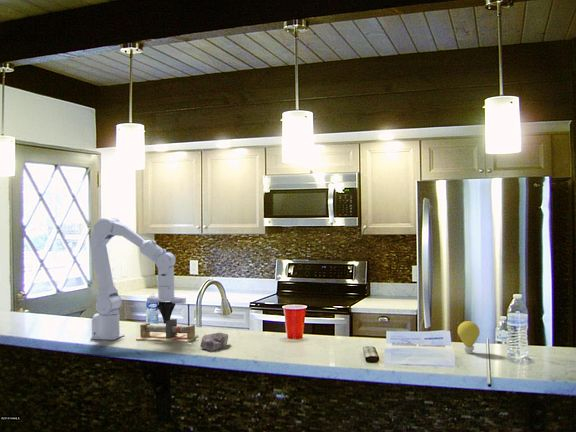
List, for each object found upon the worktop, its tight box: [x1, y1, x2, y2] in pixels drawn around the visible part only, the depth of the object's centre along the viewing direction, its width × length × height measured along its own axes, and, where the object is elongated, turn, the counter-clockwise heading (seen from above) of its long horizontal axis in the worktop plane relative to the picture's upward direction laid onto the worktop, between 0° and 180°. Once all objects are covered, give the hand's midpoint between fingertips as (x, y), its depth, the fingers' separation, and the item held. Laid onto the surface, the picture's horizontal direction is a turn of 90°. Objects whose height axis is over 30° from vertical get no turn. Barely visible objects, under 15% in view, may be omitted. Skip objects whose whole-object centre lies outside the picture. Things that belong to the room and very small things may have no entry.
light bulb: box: [457, 320, 480, 355], centre depth 183 cm, size 7×7×10 cm
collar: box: [165, 318, 178, 338], centre depth 210 cm, size 2×5×6 cm, turn 165°
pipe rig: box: [135, 322, 199, 344], centre depth 211 cm, size 20×10×5 cm, turn 75°
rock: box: [199, 332, 229, 352], centre depth 196 cm, size 8×11×5 cm
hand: (166, 323), depth 211 cm, fingers closed
